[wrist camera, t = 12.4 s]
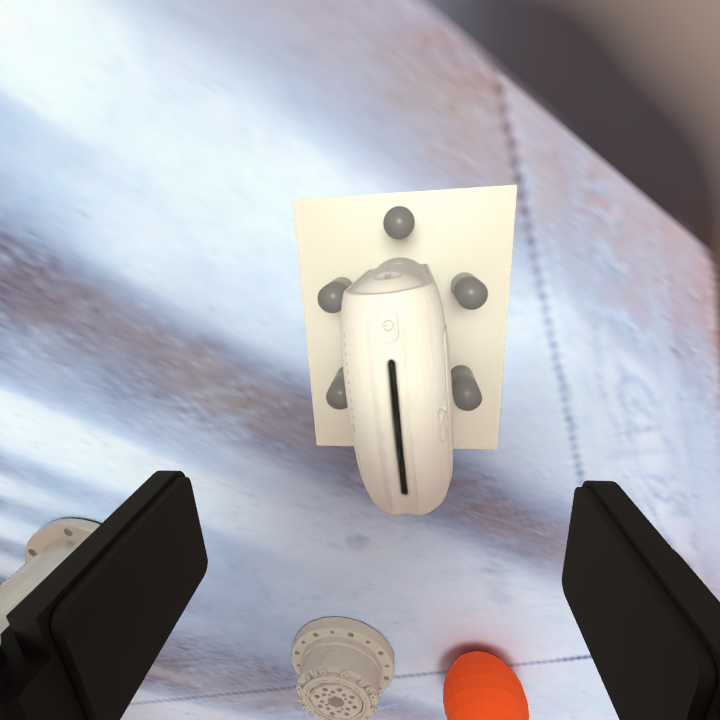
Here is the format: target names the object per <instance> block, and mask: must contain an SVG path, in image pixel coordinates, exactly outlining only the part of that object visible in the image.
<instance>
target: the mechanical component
mask: <svg viewBox="0 0 720 720" xmlns="http://www.w3.org/2000/svg"><path fill="white" fill-rule="evenodd" d="M291 657H292V665H293V667H294V669H295V671H296V673H297V674H298V676H299V678H298V682H297V685H296V690H297V695H298V697H299V700H298V703H300V704H303V710H305V711H307V710H310V711H309V715H310V716H315V715H316V716H318V717H320V718H322V719H324V720H368V717H370V716H372V715H373V714H374V713H376V712H377V705H378V701H379V694H381V693H382V692H383V691H384V690H385V689H386V688H388V687H389V685H390V683H391V681H392V679H393V675H394V653H393V651H392V649H391V647H390V645H389V643H388V641H387V640H386V639H385V638H384V637H383V636H382V635H381V634H380V633H379V632H378V631H376V630H375V629H374V628H372V627H370V626H368V625H366V624H364V623H362V622H360V621H356V620H353V619H349V618H343V617H326V618H321V619H318V620H315V621H312V622H309V623H308V624H307V625H305V626H304V627H302V628H301V630H300V631H299V632H298V634H297V635H296V638H295V642H294V645H293V648H292V654H291Z"/></svg>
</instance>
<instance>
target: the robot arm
mask: <svg viewBox="0 0 720 720" xmlns="http://www.w3.org/2000/svg"><path fill="white" fill-rule="evenodd" d="M25 561H26V564H24V565H23V566H22V567H21V568H20V569H19V570H18V571H16V572H15V573H14V574H13V575H12V576H11V577H10V578H8V579H7V580H6V581H5V582H4V583H3V584H2V585H0V720H120V719H121V717H122V715H123V714H124V712H125V710H126V709H127V707H128V705H129V704H130V702H131V700H132V698H133V697H134V695H135V693H136V692H137V690H138V688H139V686H140V685H141V683H142V681H143V680H144V678H145V676H146V674H147V673H148V671H149V669H150V668H151V666H152V664H153V662H154V661H155V659H156V657H157V656H158V654H159V652H160V650H161V649H162V647H163V645H164V644H165V642H166V640H167V639H168V637H169V635H170V633H171V632H172V630H173V628H174V627H175V625H176V623H177V621H178V620H179V618H180V616H181V615H182V613H183V611H184V609H185V608H186V606H187V604H188V603H189V601H190V599H191V597H192V596H193V594H194V592H195V591H196V589H197V587H198V585H199V584H200V582H201V580H202V579H203V577H204V575H205V573H206V570H207V565H208V559H207V554H206V549H205V545H204V540H203V536H202V531H201V526H200V522H199V517H198V513H197V508H196V503H195V499H194V494H193V490H192V485H191V481H190V479H189V478H188V477H185V475H184V473H183V472H181V471H157V472H155V473H154V474H153V475H152V476H151V477H150V478H149V479H148V480H147V481H146V482H145V483H144V484H143V485H142V486H140V487H139V488H138V489H137V490H136V491H135V492H134V493H133V494H132V495H131V496H130V497H129V498H128V499H127V500H126V501H125V502H124V503H123V504H122V505H121V506H120V507H119V508H118V509H117V510H115V511H114V512H113V513H112V514H111V515H110V516H109V517H108V518H107V519H106V520H105V521H104V522H103V523H102V524H101V525H100V524H98V523H95V522H91V521H87V520H83V519H73V518H68V519H59V520H56V521H52V522H50V523H48V524H47V525H45V526H43V527H42V528H41V529H40V530H39V531H37V532H36V533H35V534H34V535H33V536H32V537H31V539H30V540H29V541H28V544H27V546H26V551H25ZM562 586H563V591H564V594H565V597H566V599H567V602H568V604H569V606H570V608H571V611H572V613H573V615H574V617H575V620H576V622H577V624H578V627H579V629H580V631H581V633H582V636H583V638H584V640H585V642H586V645H587V647H588V649H589V652H590V654H591V656H592V658H593V661H594V663H595V665H596V667H597V670H598V672H599V674H600V676H601V679H602V681H603V683H604V686H605V688H606V690H607V692H608V695H609V697H610V699H611V701H612V704H613V706H614V708H615V711H616V713H617V715H618V717H619V720H720V602H719V601H718V600H717V598H716V597H715V596H714V595H713V594H712V592H711V591H710V590H709V589H708V588H707V587H706V585H705V584H704V583H703V582H702V581H701V580H700V578H699V577H698V576H697V575H696V574H695V573H694V571H693V570H692V569H691V568H690V567H689V565H688V564H687V563H686V562H685V561H684V560H683V558H682V557H681V556H680V555H679V554H678V553H677V552H676V551H675V550H673V549H672V548H671V546H670V545H669V544H668V543H667V542H666V541H665V539H664V538H663V537H662V536H661V535H660V533H659V532H658V531H657V530H656V529H655V528H654V526H653V525H652V524H651V523H650V522H649V520H648V519H647V518H646V517H645V516H644V515H643V513H642V512H641V511H640V510H639V509H638V507H637V506H636V505H635V504H634V503H633V502H632V500H631V499H630V498H629V497H628V496H627V494H626V493H625V492H624V491H623V490H622V489H621V487H620V486H619V485H618V484H617V483H616V482H613V481H585V482H584V483H583V486H582V487H577V488H576V489H575V492H574V499H573V506H572V512H571V519H570V526H569V533H568V540H567V547H566V554H565V560H564V567H563V574H562Z"/></svg>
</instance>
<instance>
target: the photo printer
mask: <svg viewBox="0 0 720 720" xmlns="http://www.w3.org/2000/svg"><path fill="white" fill-rule="evenodd" d="M340 333H341V348H342V362H343V373H344V382H345V391H346V399H347V406H348V413H349V420H350V426H351V432H352V438H353V443H354V448H355V454H356V458H357V463H358V467H359V471H360V474H361V477H362V480H363V483H364V486H365V488H366V490H367V492H368V494H369V496H370V498H371V499H372V501H373V502H374V504H375V505H376V506H377V507H378V508H380V509H381V510H383V511H384V512H386V513H388V514H391V515H394V516H395V515H400V514H415V515H418V516H422V515H424V514H427V513H429V512H431V511H432V510H434V509H435V508H437V507H438V506H439V505H440V504H441V503H442V501H443V500H444V498H445V496H446V494H447V491H448V488H449V484H450V480H451V478H452V471H453V449H454V438H453V398H452V382H451V366H450V353H449V342H448V335H447V326H446V323H445V317H444V310H443V305H442V301H441V297H440V293H439V290H438V287H437V285H436V282H435V280H434V277H433V275H432V273H431V271H430V269H429V266H428V264H419V263H418V262H416V261H414V260H412V259H409V258H403V257H398V258H392V259H389V260H387V261H385V262H383V263H382V264H380V265H379V266H378V267H377V268H376V269H370V270H368V271H366V272H365V273H364V274H363V275H362V276H360V277H359V278H358V279H357V280H356V281H355V282H353V283H352V284H351V285H350V286H349V287H348V288H347V289H346V290H344V292H343V298H342V305H341V317H340Z"/></svg>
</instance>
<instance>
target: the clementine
mask: <svg viewBox="0 0 720 720" xmlns="http://www.w3.org/2000/svg"><path fill="white" fill-rule="evenodd" d="M443 703H444V708H445V714H446V716H447V719H448V720H529V711H528V703H527V699H526V696H525V693H524V691H523V688H522V685H521V683H520V681H519V680H518V678H517V677H516V675H515V674H514V672H513V671H512V670H511V668H510V667H509V666H508V665H507V664H505V663H504V662H503V661H502V660H501V659H499V658H498V657H496V656H494V655H492V654H489V653H486V652H482V651H472V652H469V653H466V654H463V655H461V656H460V657H458V658H457V659H456V660H455V661H454V663H453V664H452V665H451V666H450V668H449V670H448V672H447V675H446V678H445V681H444V690H443Z"/></svg>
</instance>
